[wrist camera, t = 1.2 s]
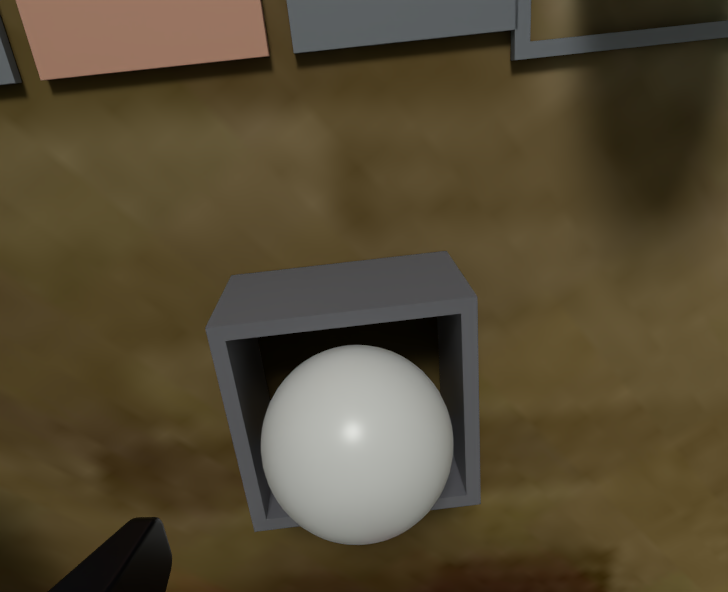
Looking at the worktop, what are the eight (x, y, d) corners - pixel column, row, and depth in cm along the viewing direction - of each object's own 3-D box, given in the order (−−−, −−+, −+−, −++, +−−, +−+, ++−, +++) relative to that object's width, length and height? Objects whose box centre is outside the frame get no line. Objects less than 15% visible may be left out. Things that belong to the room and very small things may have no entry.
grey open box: (453, 427, 23) (480, 504, 19) (268, 449, 23) (254, 531, 19) (446, 250, 20) (477, 296, 16) (231, 275, 20) (205, 327, 16)
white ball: (437, 443, 21) (477, 579, 15) (285, 462, 20) (268, 605, 15) (429, 304, 18) (473, 404, 13) (257, 324, 18) (226, 433, 13)
